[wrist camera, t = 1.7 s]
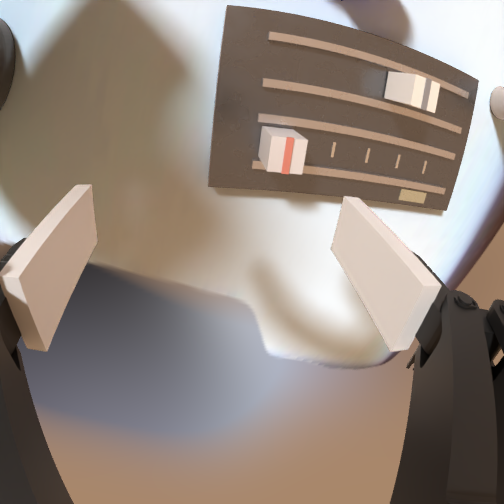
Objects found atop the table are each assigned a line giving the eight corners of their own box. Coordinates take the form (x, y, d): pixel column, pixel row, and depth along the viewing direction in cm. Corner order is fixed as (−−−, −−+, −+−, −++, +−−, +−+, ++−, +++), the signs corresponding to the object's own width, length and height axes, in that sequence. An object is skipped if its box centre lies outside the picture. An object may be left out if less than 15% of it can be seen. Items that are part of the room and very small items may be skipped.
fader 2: (383, 98, 28) (411, 105, 24) (388, 70, 26) (417, 73, 22) (407, 105, 28) (435, 114, 24) (411, 78, 27) (441, 83, 22)
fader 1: (258, 156, 30) (267, 172, 26) (262, 125, 28) (272, 135, 24) (288, 159, 30) (302, 175, 26) (293, 128, 29) (308, 140, 24)
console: (208, 180, 33) (208, 188, 31) (225, 9, 24) (227, 3, 21) (438, 204, 38) (448, 212, 36) (468, 78, 29) (481, 81, 26)
